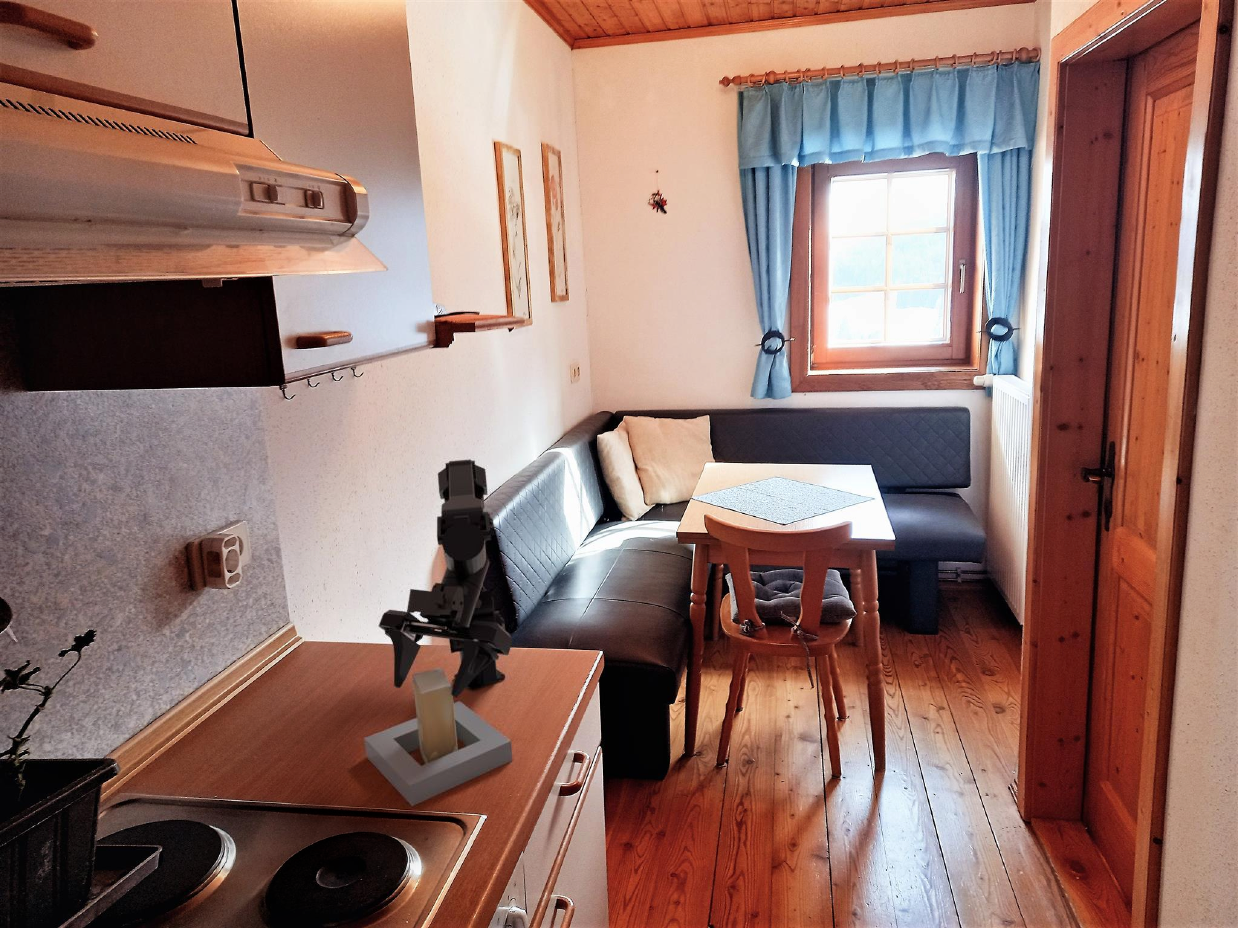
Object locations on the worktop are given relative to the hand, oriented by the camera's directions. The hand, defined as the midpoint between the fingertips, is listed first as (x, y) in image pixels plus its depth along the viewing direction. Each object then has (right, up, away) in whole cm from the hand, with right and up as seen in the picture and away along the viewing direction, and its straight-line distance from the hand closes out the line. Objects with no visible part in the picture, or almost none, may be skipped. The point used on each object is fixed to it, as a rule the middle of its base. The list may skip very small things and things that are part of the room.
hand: (425, 691), depth 113 cm
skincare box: (+1, -11, +4) cm, 12 cm away
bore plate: (+1, -11, +4) cm, 11 cm away
